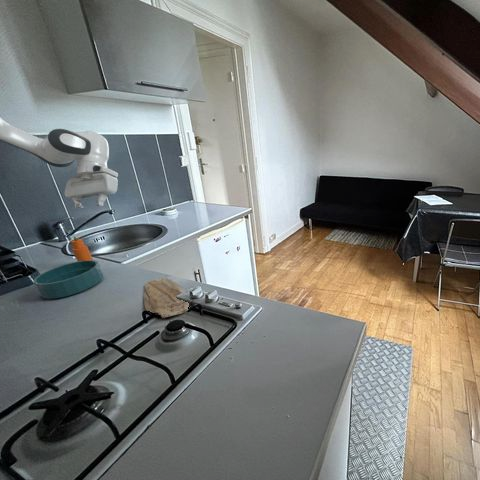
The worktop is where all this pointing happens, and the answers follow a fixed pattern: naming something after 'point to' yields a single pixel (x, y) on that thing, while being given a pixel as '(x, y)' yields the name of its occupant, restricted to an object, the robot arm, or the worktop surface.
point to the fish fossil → (164, 298)
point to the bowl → (68, 279)
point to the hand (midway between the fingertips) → (89, 207)
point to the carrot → (80, 250)
